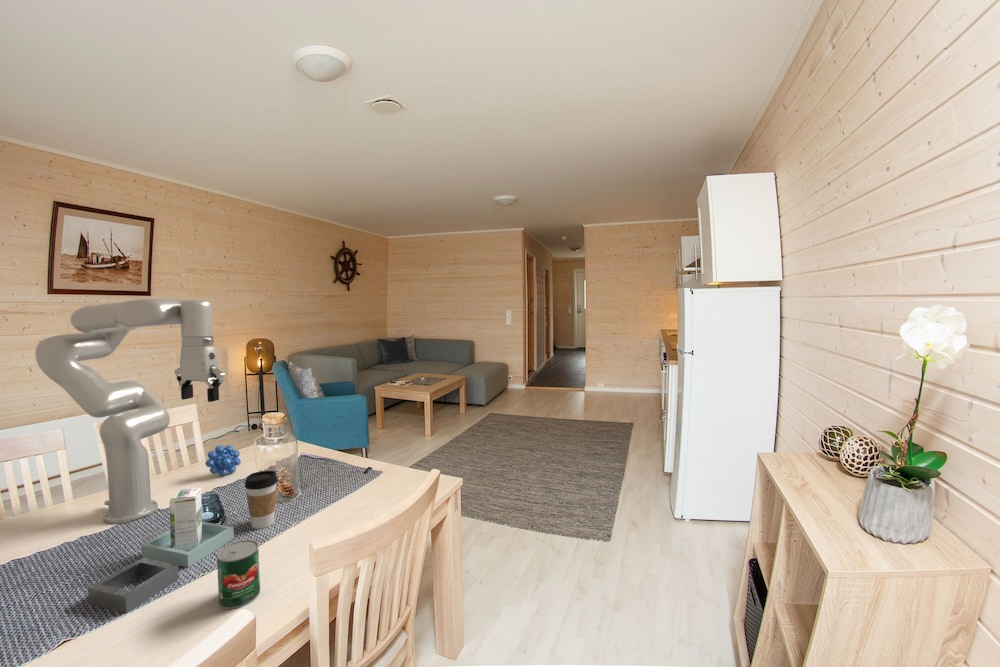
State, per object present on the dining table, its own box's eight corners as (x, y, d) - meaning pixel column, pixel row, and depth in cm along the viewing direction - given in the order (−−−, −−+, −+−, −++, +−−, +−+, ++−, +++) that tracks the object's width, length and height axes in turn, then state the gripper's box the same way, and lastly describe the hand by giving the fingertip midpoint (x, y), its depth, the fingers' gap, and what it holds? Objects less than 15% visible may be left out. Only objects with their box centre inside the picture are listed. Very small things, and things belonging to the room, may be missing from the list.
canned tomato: (244, 580, 98) (243, 536, 97) (268, 590, 95) (266, 544, 94) (210, 603, 91) (208, 555, 90) (234, 614, 88) (232, 564, 87)
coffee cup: (264, 533, 118) (262, 481, 117) (239, 529, 120) (237, 478, 119) (285, 518, 126) (284, 470, 125) (261, 514, 128) (259, 467, 127)
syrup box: (176, 542, 111) (174, 490, 110) (203, 537, 114) (201, 486, 113) (170, 554, 106) (168, 499, 105) (198, 549, 109) (196, 495, 108)
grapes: (211, 484, 148) (210, 451, 147) (203, 479, 152) (202, 447, 151) (246, 473, 158) (245, 442, 157) (237, 469, 161) (236, 439, 160)
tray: (142, 557, 106) (141, 545, 106) (191, 530, 119) (190, 519, 119) (188, 567, 103) (187, 554, 102) (233, 538, 115) (233, 527, 115)
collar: (88, 603, 90) (87, 587, 90) (143, 571, 101) (142, 557, 101) (126, 613, 88) (125, 597, 87) (178, 579, 98) (177, 565, 98)
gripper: (233, 342, 123) (235, 399, 124) (187, 339, 127) (189, 395, 129) (209, 344, 116) (212, 405, 117) (161, 342, 120) (164, 400, 121)
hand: (200, 399), depth 123 cm, fingers open, 9 cm apart
